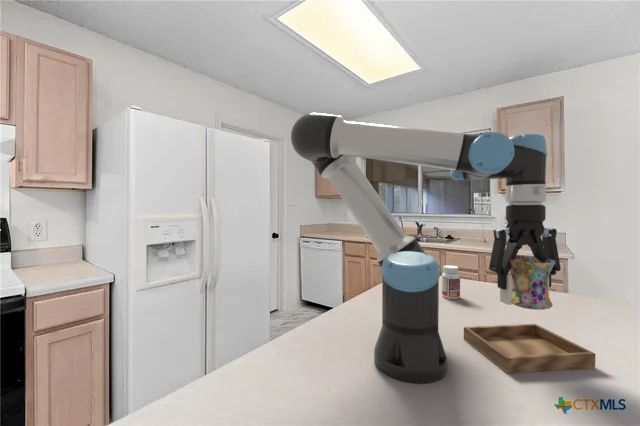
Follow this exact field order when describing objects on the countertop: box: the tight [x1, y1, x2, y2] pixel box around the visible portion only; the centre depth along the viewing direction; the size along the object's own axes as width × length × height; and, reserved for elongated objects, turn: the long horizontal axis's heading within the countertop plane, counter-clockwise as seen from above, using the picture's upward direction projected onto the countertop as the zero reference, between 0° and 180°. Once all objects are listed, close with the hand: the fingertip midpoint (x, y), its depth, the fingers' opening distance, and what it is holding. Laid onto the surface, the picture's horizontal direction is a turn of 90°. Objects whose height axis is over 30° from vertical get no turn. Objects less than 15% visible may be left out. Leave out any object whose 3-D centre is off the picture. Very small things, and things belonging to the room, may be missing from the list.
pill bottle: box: [441, 264, 461, 300], centre depth 110 cm, size 6×6×11 cm
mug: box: [509, 255, 556, 311], centre depth 69 cm, size 12×9×11 cm
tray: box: [463, 323, 596, 374], centre depth 69 cm, size 20×16×3 cm
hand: (524, 302), depth 69 cm, fingers closed on mug, 8 cm apart
